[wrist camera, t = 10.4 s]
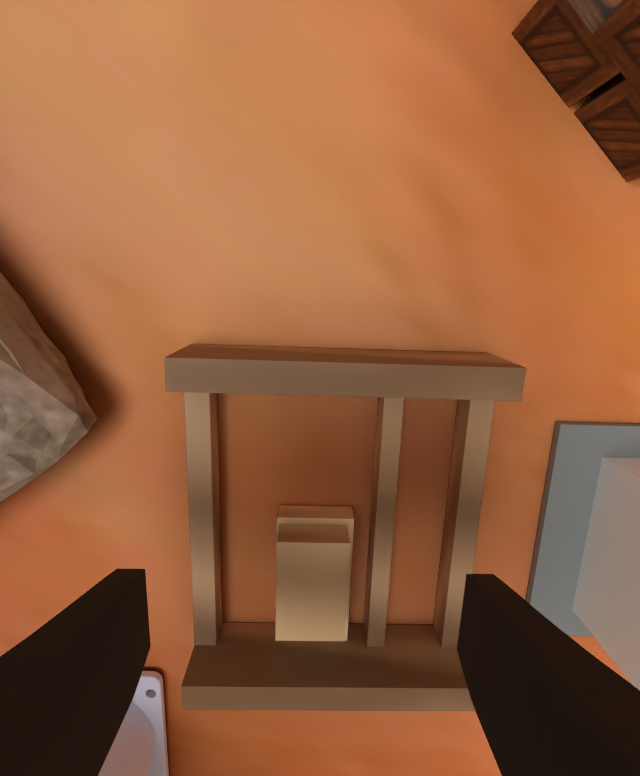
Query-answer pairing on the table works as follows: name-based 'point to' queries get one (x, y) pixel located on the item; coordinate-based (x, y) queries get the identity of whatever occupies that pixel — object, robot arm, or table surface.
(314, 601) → the offcut stack
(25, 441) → the stone tablet
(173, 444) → the table surface
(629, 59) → the dark brown block piece
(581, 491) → the mat
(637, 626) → the panel
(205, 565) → the rack
